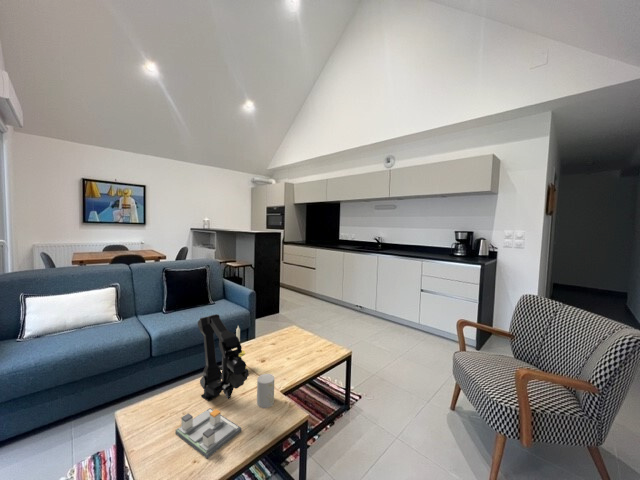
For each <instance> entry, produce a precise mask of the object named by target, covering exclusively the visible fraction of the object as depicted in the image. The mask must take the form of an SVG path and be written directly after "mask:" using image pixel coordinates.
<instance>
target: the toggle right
mask: <svg viewBox="0 0 640 480" xmlns="http://www.w3.org/2000/svg"><path fill="white" fill-rule="evenodd" d="M213 442H215V431H213V430H212V429H211V428H209V429H208V430H206V431H205V432H204V433H203V444H204V445H206V446H207V447H208V446H210V445H211V444H212V443H213Z"/></svg>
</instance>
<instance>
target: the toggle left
mask: <svg viewBox="0 0 640 480" xmlns="http://www.w3.org/2000/svg"><path fill="white" fill-rule="evenodd" d="M180 419H181V420H180V421H181V423H180V424H181V425H180V427H182V428H183V429H185V430H187V429H188V428H190V427H191V426H193V419H194V417H193V414H190V413H187V414H185V415H183V416H182V417H181V418H180Z"/></svg>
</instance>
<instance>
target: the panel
mask: <svg viewBox="0 0 640 480" xmlns="http://www.w3.org/2000/svg"><path fill="white" fill-rule="evenodd" d="M214 410H215V409H213V408H210V407H209V408H208V409H206V410H205V411H203V412H202V413H200V414H198V415H197V416H195V417H193V426H191V427H190V428H188V429H187V430H185V429H183V428H182V427H181V426H180V427H178V428H177V429H175V435H176V436H178V437H179V438H180V439H181V440H183V441H184V442H185V443H187V445H189V446H190V447H191V448H193V449H194V450H195V451H197V452H198V453H199V454H201V455H202V456H203V457H204V458H205V459H209V458H210V457H211V456H212V455H214V454H215V453H216V452H217V451H219V450H220V449H221V448H222V447H224V446H225V445H226V444H227V443H228V442H230V441H231V440H232V439H233V438H235V437H236V436H238V435H239V433H241V432H242V427H241V426H240V425H238V424H237V423H235V422H233V421H232V420H230V419H228V418H227V417H225V416H224V415H222V414H220V422H218V423H217V424H216V425H213V424H211V423H210V413H211V412H212V411H214ZM209 428H211V429H212V430H213V431H215V442H213V443H212V444H211V445H210V446H208V447H207V446H206V445H204V444H203V433H204V432H205V431H206V430H208V429H209Z"/></svg>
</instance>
